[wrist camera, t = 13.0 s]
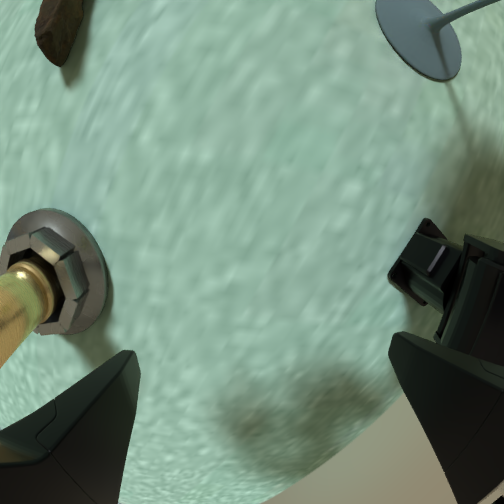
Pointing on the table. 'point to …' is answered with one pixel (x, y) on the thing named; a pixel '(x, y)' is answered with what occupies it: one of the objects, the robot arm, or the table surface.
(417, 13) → the cocktail glass
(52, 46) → the dark brown tapered rod
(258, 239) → the table surface
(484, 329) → the robot arm
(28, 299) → the ball
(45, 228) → the socket base
